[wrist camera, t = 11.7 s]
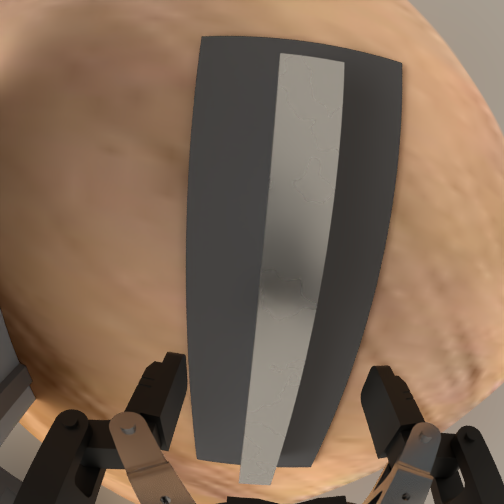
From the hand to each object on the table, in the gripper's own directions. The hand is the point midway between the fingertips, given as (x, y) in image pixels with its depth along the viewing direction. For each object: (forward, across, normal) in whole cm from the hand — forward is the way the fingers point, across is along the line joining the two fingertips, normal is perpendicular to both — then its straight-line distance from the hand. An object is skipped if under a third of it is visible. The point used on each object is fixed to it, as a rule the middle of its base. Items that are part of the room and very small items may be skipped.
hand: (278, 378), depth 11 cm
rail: (+4, 0, 0) cm, 4 cm away
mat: (+5, 0, 0) cm, 5 cm away
